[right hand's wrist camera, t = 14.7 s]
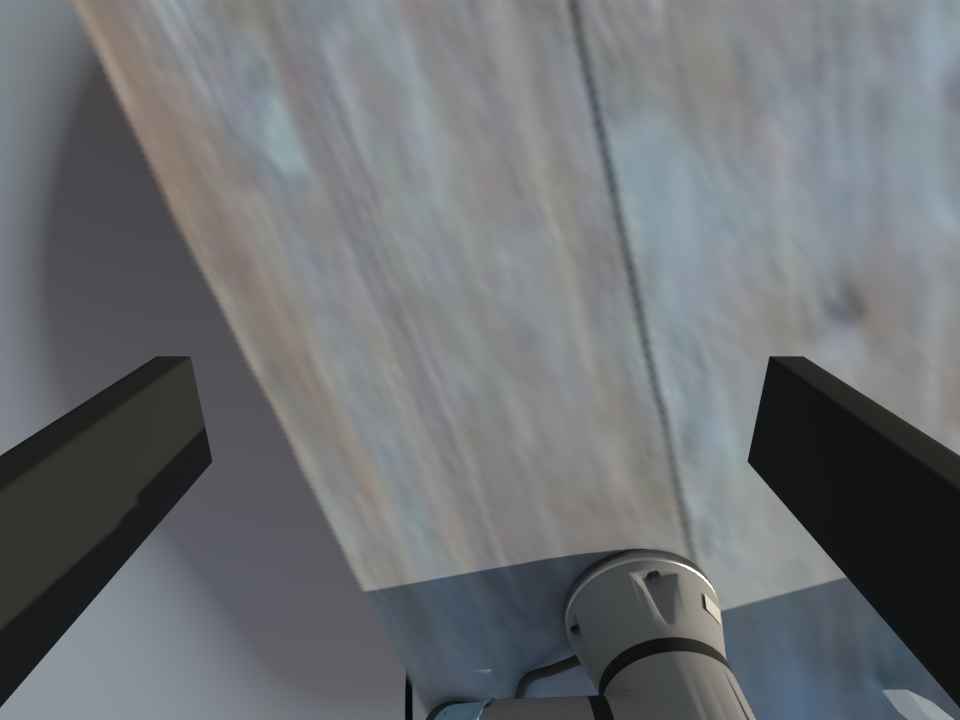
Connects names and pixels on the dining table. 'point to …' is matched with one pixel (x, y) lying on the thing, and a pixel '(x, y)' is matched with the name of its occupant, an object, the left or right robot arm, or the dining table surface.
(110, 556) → the right robot arm
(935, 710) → the white plastic object
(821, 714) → the dining table surface
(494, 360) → the dining table surface
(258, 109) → the dining table surface
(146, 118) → the dining table surface
